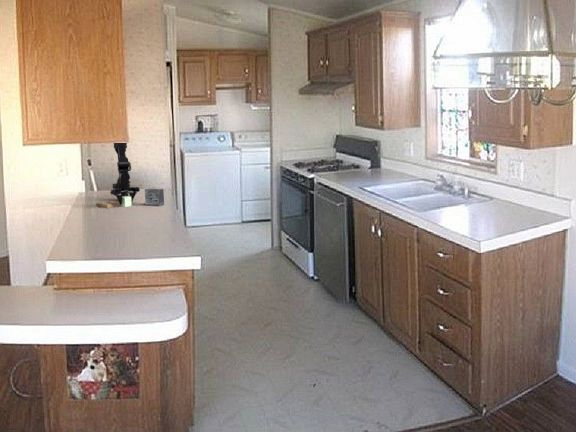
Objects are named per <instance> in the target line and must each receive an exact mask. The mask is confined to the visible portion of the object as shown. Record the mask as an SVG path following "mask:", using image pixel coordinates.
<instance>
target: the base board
mask: <svg viewBox="0 0 576 432" xmlns="http://www.w3.org/2000/svg"><path fill="white" fill-rule="evenodd" d="M95 203H96V205H95V206H96V207H98V208H99V207H100V208H105V209H109V208H116V207H121V206H120V203H119V201H118V200H116V201H115V200H108V201H102V202H95Z"/></svg>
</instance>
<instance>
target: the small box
mask: <svg viewBox="0 0 576 432" xmlns="http://www.w3.org/2000/svg"><path fill="white" fill-rule="evenodd" d="M144 197H145V206H148V207H149V206H151V207H161V206H164V205H165V195H164V188H146V189H144Z"/></svg>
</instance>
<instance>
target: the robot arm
mask: <svg viewBox="0 0 576 432" xmlns="http://www.w3.org/2000/svg"><path fill="white" fill-rule="evenodd" d="M127 148H128V142H127V143H115V142H113V149H114V151H115V153H116V154H117V163H116V165H117V166H116V167H117V172H118V178H117V179H116V183H112V189H111V190H110V192H109V193H110V195H113V196H115V197H116V200H117V202H119V203H120V205H122V197H123V196H130V197H131V202H132V203H133V201H134V198H135V196H136V194H138V192H140V188H139V186H131V181H130V179H131V175H130V173H129V172H131V170H132V164H131V162H130V161H129V157H127V155H126V152H127Z"/></svg>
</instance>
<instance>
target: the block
mask: <svg viewBox="0 0 576 432" xmlns="http://www.w3.org/2000/svg"><path fill="white" fill-rule="evenodd" d="M132 205H133V201H132V202H131V197H130V195H128V196H123V197H122V205H120V206H119V207H123V208H126V207H127V208H128V207H132Z"/></svg>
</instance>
